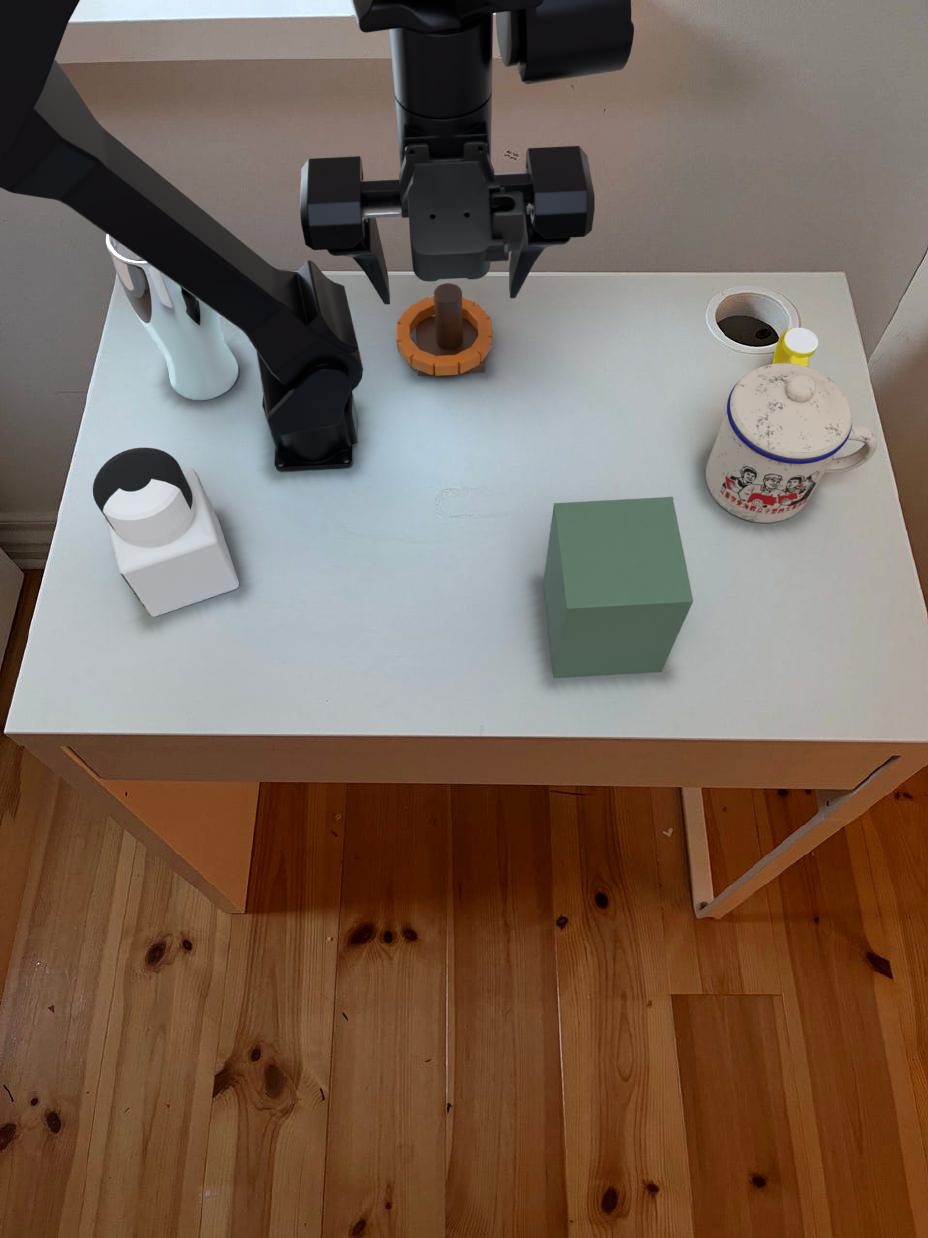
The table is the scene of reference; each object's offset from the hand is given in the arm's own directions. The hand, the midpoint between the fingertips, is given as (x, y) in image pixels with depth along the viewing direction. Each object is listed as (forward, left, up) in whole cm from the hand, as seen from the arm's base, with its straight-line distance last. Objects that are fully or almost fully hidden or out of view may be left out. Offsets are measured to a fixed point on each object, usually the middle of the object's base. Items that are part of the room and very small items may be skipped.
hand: (449, 297), depth 66 cm
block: (+10, -21, -13) cm, 27 cm away
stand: (0, +7, -13) cm, 15 cm away
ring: (0, +7, -12) cm, 14 cm away
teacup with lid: (+26, -9, -13) cm, 31 cm away
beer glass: (-22, +6, -13) cm, 26 cm away
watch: (+29, +1, -13) cm, 32 cm away
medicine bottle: (-22, -14, -13) cm, 29 cm away
